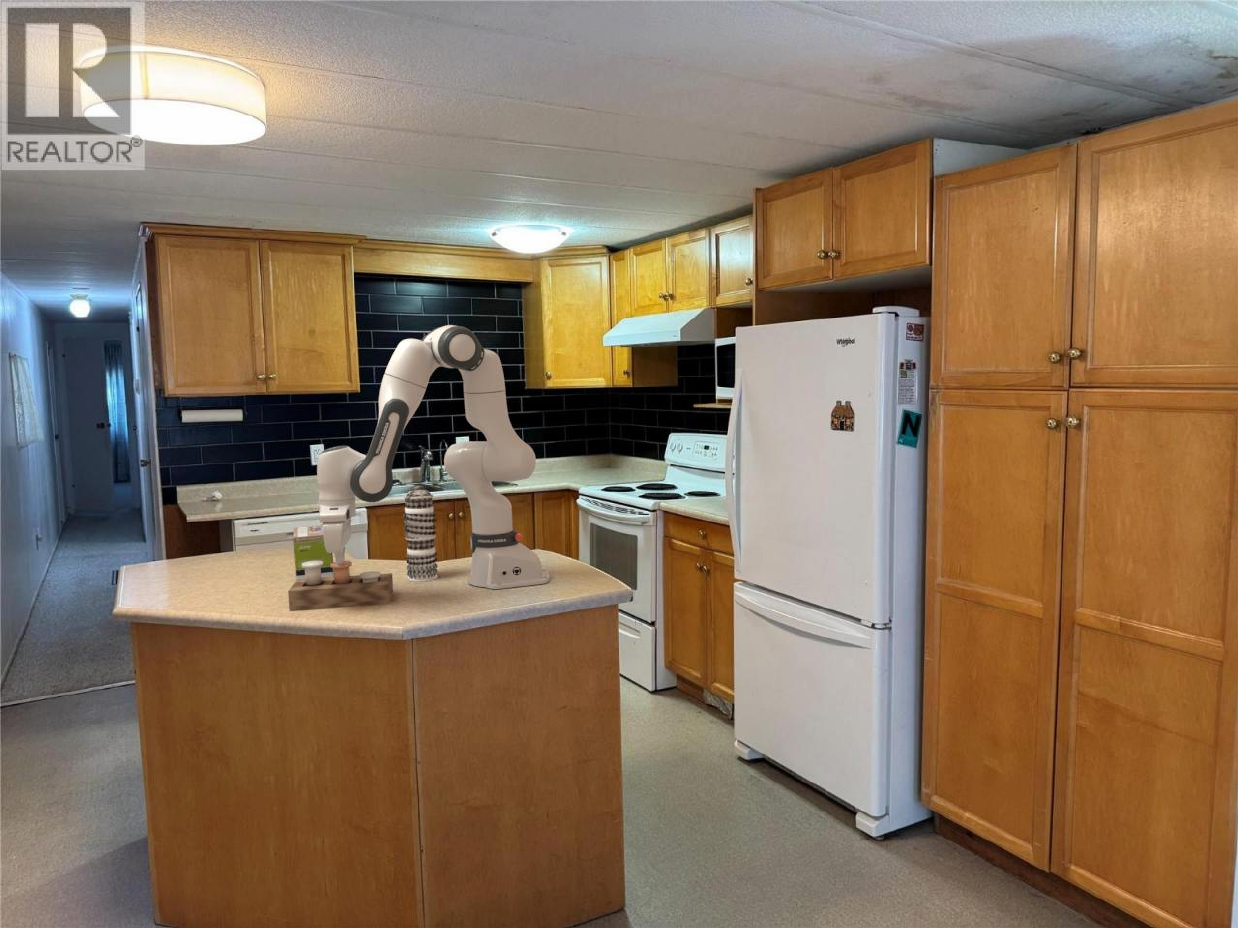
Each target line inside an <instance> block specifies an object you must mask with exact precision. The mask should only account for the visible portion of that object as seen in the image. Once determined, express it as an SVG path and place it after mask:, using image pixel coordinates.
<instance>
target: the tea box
mask: <svg viewBox="0 0 1238 928" xmlns="http://www.w3.org/2000/svg"><path fill="white" fill-rule="evenodd" d="M292 542H293V543H292V544H293V555H294V556H293V557H294V566H295V567H294V568H295V578H296V581H297V580H298V579H305V568H302V563H304V562H307V561H323V566H321V578H323V577H334V568H331V567H330V564H331V563H333V562H334V559H333V558H334V557H333V553H327V551H326V548H325V543H324V536H323V527H322V525H321V524H320V525H308V526H301V527H293V535H292ZM296 581H295V582H296Z"/></svg>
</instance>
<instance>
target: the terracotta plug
mask: <svg viewBox="0 0 1238 928" xmlns="http://www.w3.org/2000/svg"><path fill="white" fill-rule="evenodd" d="M352 563H353V562H352V561H351V560H345V561H344V562H343V564H338V565H337V564H336V561H333V563H331V564H330V567H331V568H333V571H334V584H335V585H336V584H349V583H350V576H351V575H350V567H352V566H353V564H352Z"/></svg>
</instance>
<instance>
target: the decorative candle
mask: <svg viewBox="0 0 1238 928" xmlns="http://www.w3.org/2000/svg"><path fill="white" fill-rule="evenodd" d="M433 497H434V495H433V494H431V492H430V490H428V489H414V490H410V491H408V492H407V494H406V495H405V496H404V497H403V498H404V501H405V502H404V503H405V507H404V511H403V514H402V518H403V519H405V520H404V521H403V525H404V527H403V530H404V532H405V534H404V537H405V540H406V543H407V544H406V545H407V548H406V551H407V552H406V555H405V558H406V564H407V566H406V570H407V572H406V575H407V581H409V582H413V583H414V582H415V583H416V582H417V583H419V582H428V581H433V580H436V579H438V574H437V573H438V571H439V570H438V569H437V568H438V563H436V562H437V561H438V558H437V555H438V553H437V552H436V545H435V538H436V537H437V535H436V534H437V532H436V528H437V526H436V525H434V523H435V522H437V519H436V516H437V514H436V513H435V512H434V505H433V503H434V502H433Z"/></svg>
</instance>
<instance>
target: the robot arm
mask: <svg viewBox="0 0 1238 928" xmlns="http://www.w3.org/2000/svg"><path fill="white" fill-rule="evenodd" d="M500 359H501V358H500V356H499V355H498V353H497V352H495V351H492V350H491V349H486V348H485V349H484V347H483V346H482V344H481V342H480V341H479V339H478V338H477V336H476V334H474V332H473V331H471V330H470V329H469V328H467V327H465V326H461V325H453V324H447V325H443V326H438V327H435V328H434V329H432V330H431V331H429V332H428V333H427V334H425V336H423V337H422V338H421V339H418V338H417V339H416V338H406V339H402V340H401V341H400V342H399V343H398V344H397V346H396V348H395V350H394V352H393V353H392V355H391V357H390V360H389V361H388V364H387V366H386V369H385V372H384V374H383V377H382V380H381V383H380V388H379V395H378V420H377V425H376V427H375V432H374V434H373V437H372V440H371V443H370V446H369V449H368V451H367V454H366V455H365V454H363V453H360V452H359V451H357V450H355V449H353V448H351V447H350V446H349V445H337V446H333V447H329V448H326V449H324V450H322V451H321V452H320V454H318V457H317V463H316V465H317V467H316V473H317V474H316V476H317V485H318V488H319V495H318V510H319V513H318V514H319V516H318V518H319V520H318V521H319V523H321V524H322V527H323V536H324V543H325V548H326V551H327V553H332V554H334V558H335V562H336V564H337V565H338V564H343V562H344V561H346V558H345V557H346V556H345V553H346V545H347V544H348V543H349V541H350V540H351V538H352V525H351V524H352V518H353V517H355V516H356V515H357V513H356V511H357V509H356V508H357V507H356V498H358V499H359V500H360V501H363V502H367V503H376V502H380V501H383V500H385V499H386V498H387V497H388V496H389V494H390V493H391V491H392V489H393V486H394V477H393V463H394V459H395V455H396V453H397V450H398V447H399V444H400V440H401V437H402V435H403V433H404V431H405V428H406V426H407V425H408V423H409V421H410V420H411V419H412V418H413V416H414V414H415V412H416V411H417V409H418V408H419V406H420V404H421V402H422V400H423V398H424V395H425V393H426V390H427V387H428V384H429V381H430V377H431V376H432V375H433V373H434V372H435V370H437V368H439V367H443V368H447V369H458V371H459V372H460V374H461V377H462V380H463V397H464V409H465V419H466V421H467V422H468V423H469V424H470V425H471V427H472V428H475V429H477V430H479V431H480V432H481V433H482V434H483V435H484V437H485V439H486V441H485V440H484V441H476V440H475V441H470V440H469V441H463V442H458V443H454V444H451V445H450V446H449V447H448V448H447V450H446V451H445V453H444V459H443V463H444V464H443V465H444V469H445V471H446V474H448V476H449V477H450V478H452V479H453V480H454V481H455V482H456V483H458V485H459V486H460V487H461V488H462V490H463V491H464V493H465V495H466V497H467V499H468V504H469V507H470V508H469V509H470V516H471V531H470V549H471V552H472V558H471V566H470V567H471V568H470V572H469V579H468V584H469V585H471V586H474V587H481V588H487V589H490V590H500V589H501V590H502V589H510V588H516V587H527V586H534V585H541V584H548V583H549V581H550V580H551V575H550V573H549V571H547V570H545V569H543V568H542V567H543V566H542V563H541V560H540V557H539V556H538V555H537V553H536V552H534V551H533V550H531V549H529V547H527V546H526V545H524V544H523V543H521V541H522V540H523V535H522V533H520V531H518V530H516V529H513V509H512V508H513V507H512V503H511V502H510V500H509V499H508V498H507V497H506V496H505V495H503V494H502V493H499V492H498V491H497V490H496V489H495V488H494V484H493V483H492V482H512V483H513V482H518V481H522V480H526V479H529V478H530V477H531V476H532V475H533V473H534V471H535V470H536V469H535V468H536V466H537V465H536V462H537V461H536V460H537V459H536V454H535V452H534V450H533V448H532V447H531V446H530V445H529V444H528V443H526V442H525V441H524V440H523V439H521V438H520V436H519V435H518V434H517V432H516V431H515V430H514V427H513V426H512V423H511V421H510V417H509V412H508V405H507V396H506V385H505V384H506V383H505V377H504V371H503V367H502V362H501V360H500Z"/></svg>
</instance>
